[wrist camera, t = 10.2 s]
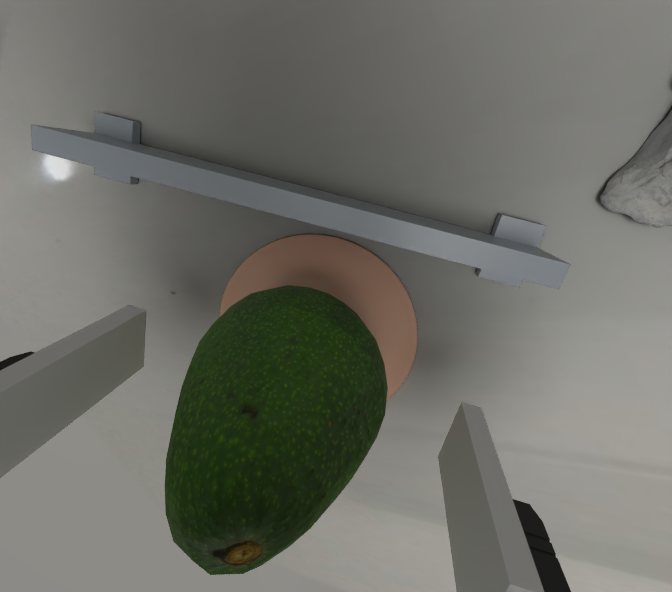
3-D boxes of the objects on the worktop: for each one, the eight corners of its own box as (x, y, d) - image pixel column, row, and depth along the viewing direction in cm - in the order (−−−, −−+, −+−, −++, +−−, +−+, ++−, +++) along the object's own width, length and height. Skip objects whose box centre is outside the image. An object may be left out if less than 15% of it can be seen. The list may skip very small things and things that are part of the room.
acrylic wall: (103, 113, 18) (29, 97, 15) (541, 224, 17) (583, 238, 13) (102, 174, 19) (33, 174, 16) (515, 284, 18) (547, 312, 14)
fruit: (264, 402, 22) (128, 643, 11) (228, 275, 20) (9, 409, 8) (397, 391, 20) (401, 658, 9) (374, 252, 18) (342, 378, 7)
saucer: (236, 210, 19) (233, 210, 19) (445, 265, 18) (446, 267, 18) (211, 386, 23) (208, 390, 22) (384, 439, 22) (384, 443, 22)
